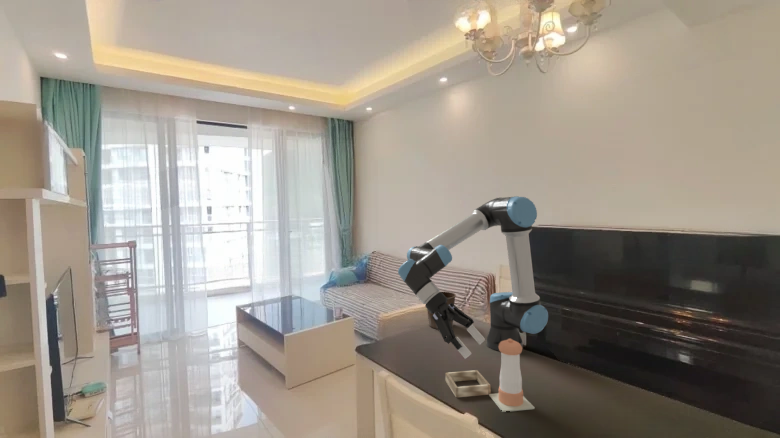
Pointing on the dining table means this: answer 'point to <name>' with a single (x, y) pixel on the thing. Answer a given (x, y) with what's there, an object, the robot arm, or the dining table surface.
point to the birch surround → (468, 390)
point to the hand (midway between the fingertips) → (476, 349)
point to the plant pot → (450, 298)
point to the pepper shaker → (510, 373)
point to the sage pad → (504, 408)
